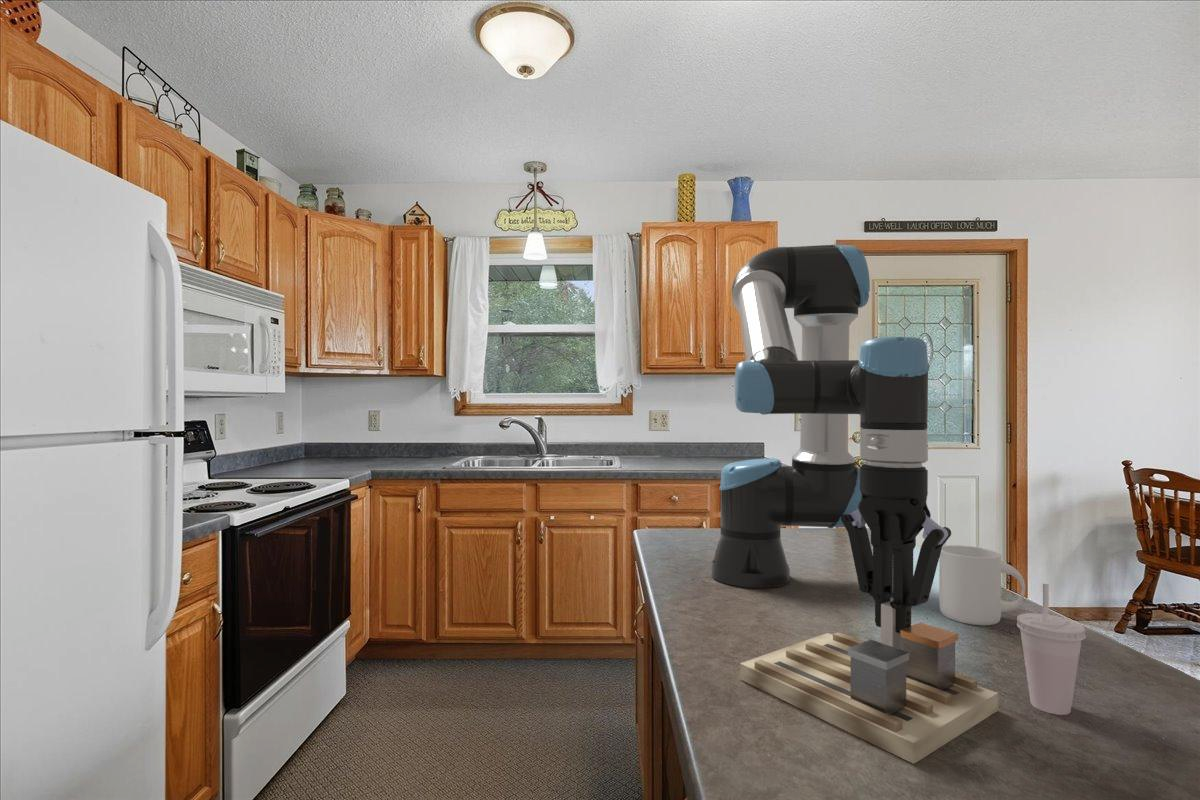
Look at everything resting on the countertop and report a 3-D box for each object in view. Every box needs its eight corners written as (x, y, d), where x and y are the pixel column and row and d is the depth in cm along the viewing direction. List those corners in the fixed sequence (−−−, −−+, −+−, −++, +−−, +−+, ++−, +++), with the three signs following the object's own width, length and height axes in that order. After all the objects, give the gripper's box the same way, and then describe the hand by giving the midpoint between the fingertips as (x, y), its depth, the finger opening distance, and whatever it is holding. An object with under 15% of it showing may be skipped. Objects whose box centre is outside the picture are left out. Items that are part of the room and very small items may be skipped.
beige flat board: (739, 679, 77) (739, 656, 77) (827, 647, 88) (827, 627, 88) (913, 763, 59) (913, 734, 59) (997, 710, 69) (997, 685, 69)
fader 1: (847, 701, 67) (847, 648, 67) (870, 690, 69) (870, 639, 69) (886, 718, 63) (886, 662, 63) (909, 706, 66) (909, 652, 66)
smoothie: (1003, 694, 73) (1003, 576, 73) (1053, 692, 74) (1053, 575, 74) (1046, 722, 67) (1046, 593, 67) (1101, 720, 68) (1101, 592, 68)
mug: (1033, 632, 93) (1034, 561, 94) (944, 622, 98) (944, 554, 98) (1017, 614, 102) (1017, 549, 102) (935, 605, 106) (935, 543, 106)
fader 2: (900, 679, 72) (900, 630, 72) (919, 670, 75) (919, 622, 75) (938, 693, 69) (938, 641, 69) (957, 683, 71) (957, 633, 71)
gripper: (827, 461, 79) (827, 646, 79) (931, 470, 68) (931, 684, 68) (861, 458, 83) (861, 633, 83) (963, 466, 72) (963, 668, 72)
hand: (892, 656), depth 75 cm, fingers closed
